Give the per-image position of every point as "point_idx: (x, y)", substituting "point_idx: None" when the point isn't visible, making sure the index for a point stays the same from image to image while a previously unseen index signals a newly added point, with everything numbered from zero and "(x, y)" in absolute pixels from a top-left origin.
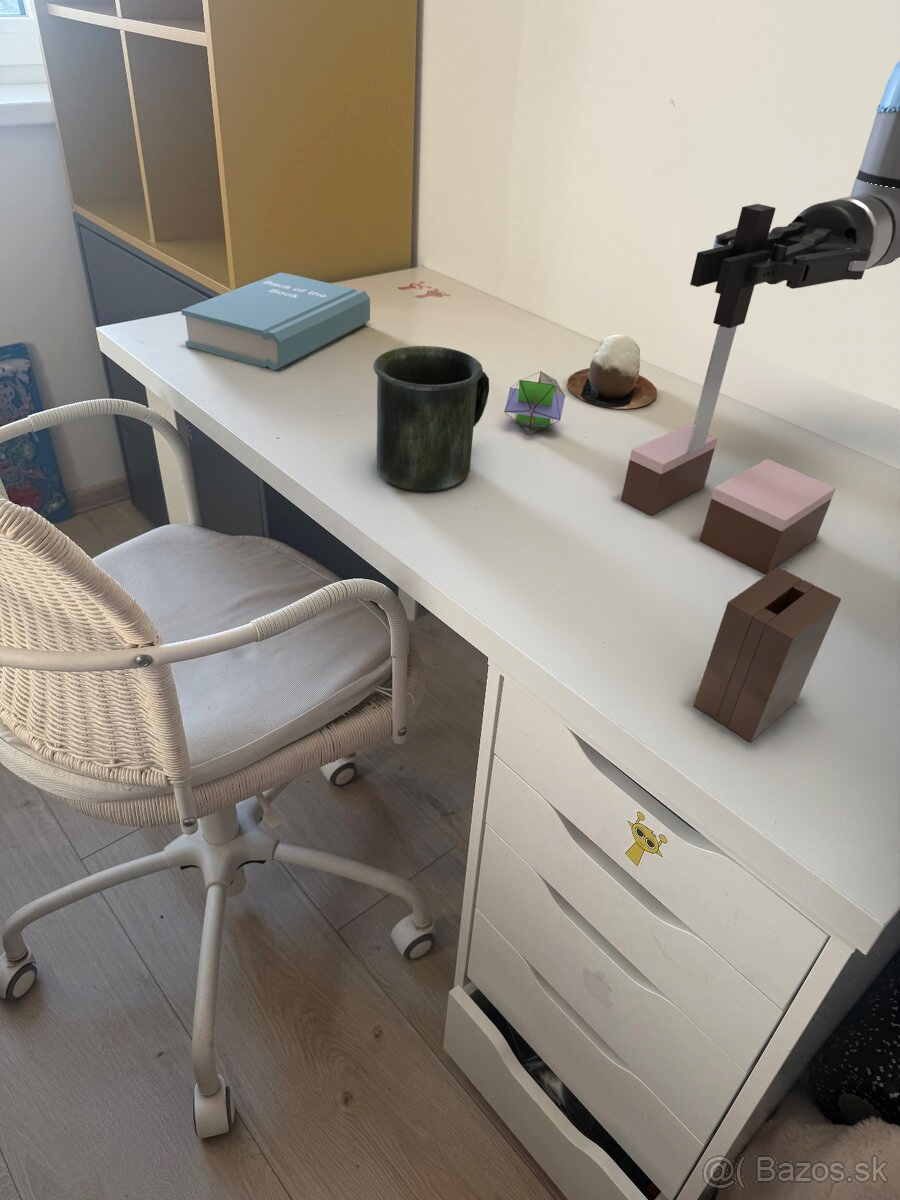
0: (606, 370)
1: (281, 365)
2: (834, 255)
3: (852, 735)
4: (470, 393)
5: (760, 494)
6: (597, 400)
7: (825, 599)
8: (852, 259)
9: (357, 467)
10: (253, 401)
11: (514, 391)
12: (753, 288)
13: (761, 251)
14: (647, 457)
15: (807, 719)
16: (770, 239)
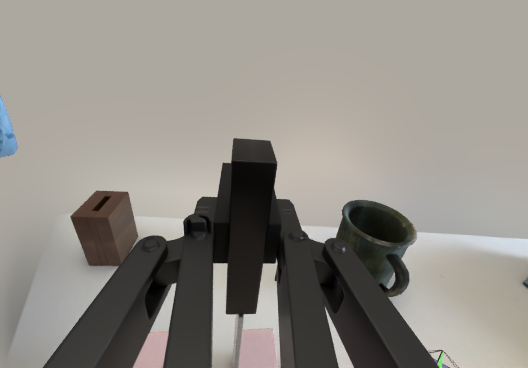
0: None
1: (525, 281)
2: (51, 359)
3: (58, 264)
4: (349, 233)
5: (140, 359)
6: None
7: (79, 212)
8: None
9: None
10: (460, 252)
11: (435, 351)
12: (227, 276)
13: (223, 212)
14: (255, 329)
15: (83, 259)
16: (293, 347)
